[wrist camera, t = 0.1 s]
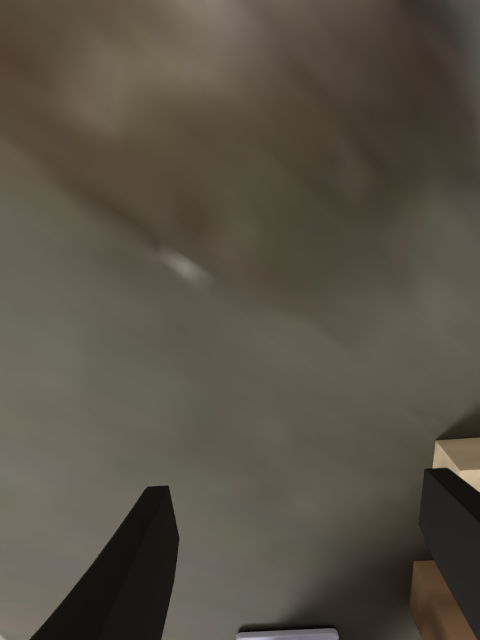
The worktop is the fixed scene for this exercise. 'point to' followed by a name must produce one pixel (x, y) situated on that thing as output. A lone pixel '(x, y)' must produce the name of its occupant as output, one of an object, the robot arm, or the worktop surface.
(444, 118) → the worktop surface
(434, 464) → the base block
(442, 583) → the walnut cube
